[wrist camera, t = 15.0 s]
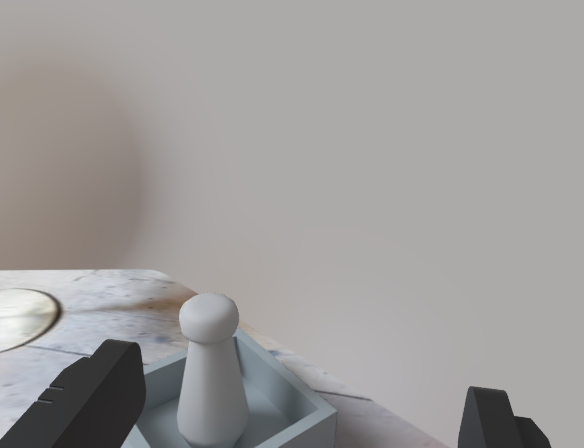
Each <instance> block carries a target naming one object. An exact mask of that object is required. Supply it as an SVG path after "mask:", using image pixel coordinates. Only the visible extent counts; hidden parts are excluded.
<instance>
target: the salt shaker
mask: <svg viewBox="0 0 584 448" xmlns="http://www.w3.org/2000/svg"><path fill="white" fill-rule="evenodd" d="M179 320H180V326H181V330H182V334H183V335H184V337H186V338H187V339H189V340H190V342H189V347H188V353H187V359H186V365H185V371H184V377H183V383H182V388H181V394H180V400H179V406H178V412H177V422H178V429H179V432H180V434H181V435H182V437H183V438H184V439H185V441H186V442H187V443H188V444H189V446H190V447H191V448H233V447H234V445H235V444H236V442H237V441H238V439H239V438H240V436H241V435H242V434H243V432H244V431H245V429H246V426H247V422H248V418H249V412H250V411H249V407H248V402H247V398H246V394H245V389H244V385H243V380H242V376H241V372H240V367H239V363H238V359H237V354H236V350H235V345H234V341H233V337H232V335H233V334H235V331H236V329H237V326H238V323H239V313H238V309H237V306H236V304H235V302H234V301H233V300H231V299H230V298H228V297H227V296H225V295H223V294H218V293H204V294H200V295H196V296H194V297H192V298H191V299H189V300H188V301H186V302H185V303H184V304H183V306H182V308H181V310H180V315H179Z"/></svg>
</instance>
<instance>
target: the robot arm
mask: <svg viewBox="0 0 584 448" xmlns="http://www.w3.org/2000/svg"><path fill="white" fill-rule="evenodd" d="M145 400H146V384H145V377H144V370H143V363H142V356H141V349H140V346H139V344H138V343H136V342H128V341H120V340H112V339H108V340H105V341H104V342H103V343H102V344H101V345H100V347H99V348H98V349H97V350H96V351H95V352H94V354H93V355H92V356H91V357H90V358H88V357H83V358H81V359H79V360H78V361H76V362H75V363H73V364H72V365H70V366H68V367H67V368H65V369H64V370H63V371H62V372H61V373H60V374H59V375H58V376H57V377H56V379H55V380H54V381H53V382H52V383H51V384H50V387H49V389H48V388H47V389H46V390H45V391H44V392H43V393H42V394H41V395H40V396H39V397H38V401H37V402H34V403H33V404H32V405H31V406H30V407H29V409H28V410H27V411H26V412H25V413H24V414H23V415H22V416H21V417H20V419H19V420H18V421H17V422H16V423H15V424H14V425H13V426H12V427H11V429H10V430H9V431H8V432H7V433H6V434H5V435H4V436H3V437H2V438H1V440H0V448H121V446H122V445H123V443H124V441H125V440H126V438H127V436H128V435H129V433H130V432H131V430H132V428H133V427H134V425H135V423H136V422H137V420H138V418H139V417H140V415H141V413H142V411H143V408H144V405H145ZM458 448H551V446H550V443H549V440H548V438H547V437H546V436H545V435H544V434H543V432H542V431H541V430H540V429H539V428H538V426H537V425H536V424H535V423H534V422H533V420H531V418H525V417H517V416H514V415H513V412H512V408H511V405H510V402H509V399H508V396H507V393H506V392H505V391H504V390H496V389H489V388H481V387H473V386H470V387H469V389H468V392H467V396H466V402H465V407H464V412H463V417H462V422H461V427H460V432H459V438H458Z"/></svg>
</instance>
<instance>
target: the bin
mask: <svg viewBox="0 0 584 448" xmlns="http://www.w3.org/2000/svg"><path fill="white" fill-rule="evenodd" d="M232 337H233V341H234V345H235V350H236V354H237V359H238V363H239V367H240V372H241V376H242V380H243V385H244V389H245V394H246V398H247V402H248V407H249V411H250V412H249V418H248V422H247V426H246V429H245V431H244V432H243V434H242V435H241V436H240V438H239V439H238V441H237V442H236V444H235V445H234V447H233V448H335V436H336V423H337V410H336V409H335V408H334V407H333V406H331V405H330V404H329V403H328V402H327V401H325V400H324V399H323V398H322V397H321V396H320V395H318V394H317V393H316V392H315V391H314V390H312V389H311V388H310V387H309V386H308V385H307V384H305V383H304V382H303V381H302V380H301V379H299V378H298V377H297V376H296V375H295V374H294V373H292V372H291V371H290V370H289V369H288V368H287V367H285V366H284V365H283V364H282V363H281V362H279V361H278V360H277V359H276V358H275V357H274V356H272V355H271V354H270V353H269V352H268V351H266V350H265V349H264V348H263V347H262V346H261V345H259V344H258V343H257V342H256V341H255V340H253V339H252V338H251V337H250V336H249V335H248V334H246V333H245V332H244V331H243V330H242V329H240V328H237V329H236V331H235V334H233V335H232ZM187 353H188V349H186V350H183V351H181V352H178V353H176V354H174V355H171V356H169V357H166V358H164V359H161V360H159V361H157V362H154V363H152V364H149V365H147V366H144V367H143V370H144V377H145V384H146V400H145V405H144V408H143V411H142V413H141V415H140V417H139V418H138V420H137V422H136V423H135V425H134V427H133V428H132V430H131V432H130V433H129V435H128V436H127V438H126V440H125V441H124V443H123V445H122V446H121V448H191V447H190V446H189V444H188V443H187V442H186V441H185V439H184V438H183V437H182V435H181V434H180V432H179V429H178V422H177V412H178V406H179V400H180V394H181V388H182V383H183V377H184V371H185V365H186V359H187Z"/></svg>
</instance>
